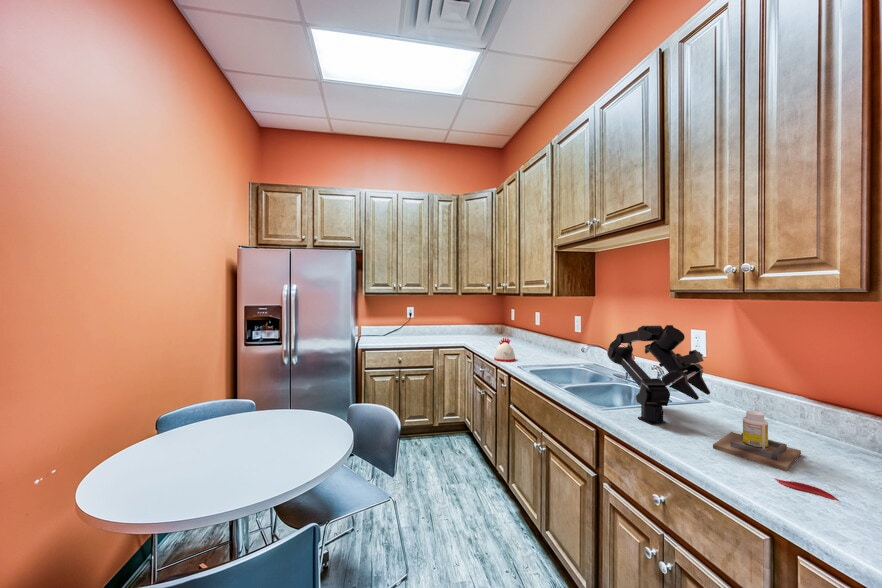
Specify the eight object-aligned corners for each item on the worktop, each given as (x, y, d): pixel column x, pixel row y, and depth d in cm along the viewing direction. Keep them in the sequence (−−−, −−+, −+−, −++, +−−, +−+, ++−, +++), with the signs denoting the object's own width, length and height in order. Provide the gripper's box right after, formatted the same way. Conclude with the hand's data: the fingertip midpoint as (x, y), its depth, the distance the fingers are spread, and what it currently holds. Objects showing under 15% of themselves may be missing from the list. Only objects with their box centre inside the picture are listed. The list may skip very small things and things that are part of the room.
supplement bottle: (758, 443, 105) (758, 409, 105) (773, 451, 100) (773, 416, 99) (737, 442, 106) (738, 409, 106) (752, 451, 100) (752, 415, 100)
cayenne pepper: (767, 481, 88) (767, 473, 88) (777, 477, 89) (778, 469, 89) (835, 509, 77) (835, 500, 77) (845, 503, 78) (845, 495, 78)
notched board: (712, 448, 105) (712, 439, 104) (731, 435, 114) (731, 427, 114) (786, 471, 91) (786, 461, 91) (800, 454, 100) (800, 445, 100)
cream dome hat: (518, 361, 229) (518, 338, 229) (499, 362, 226) (499, 339, 226) (509, 357, 243) (509, 335, 243) (491, 358, 239) (490, 336, 239)
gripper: (672, 344, 110) (714, 387, 101) (696, 339, 120) (736, 378, 111) (646, 365, 116) (683, 407, 107) (671, 358, 127) (706, 396, 118)
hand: (703, 396), depth 111 cm, fingers open, 9 cm apart
